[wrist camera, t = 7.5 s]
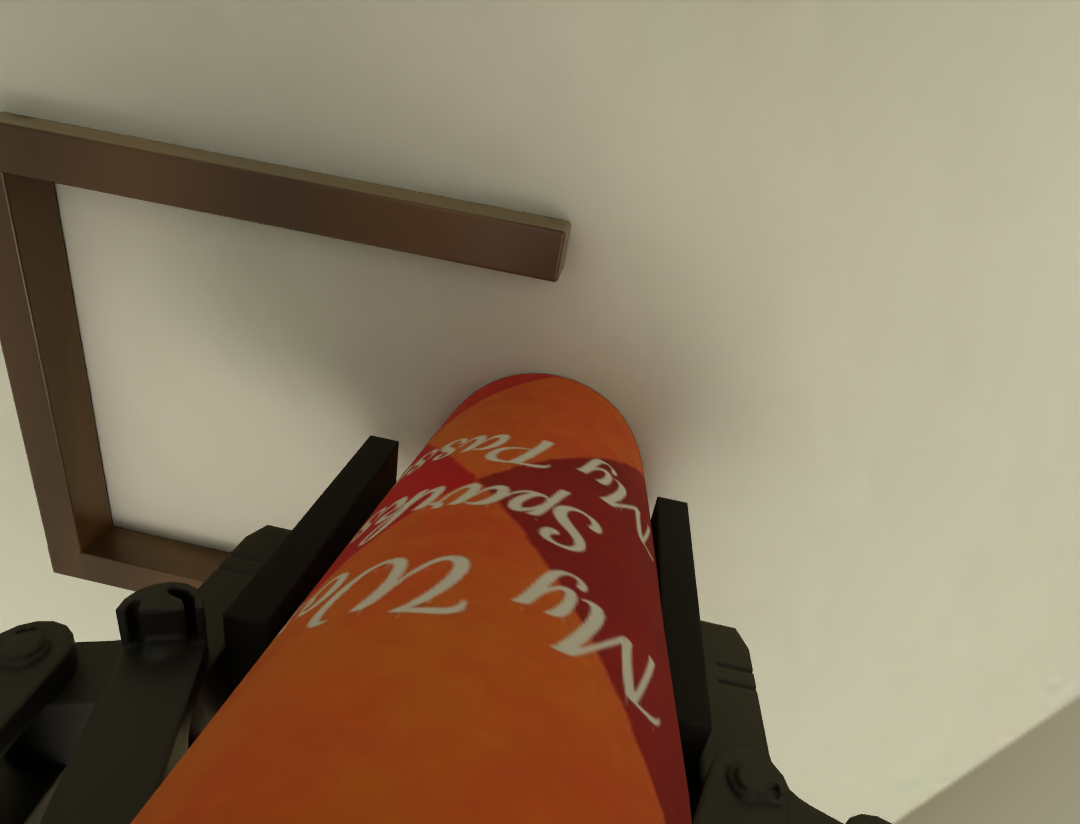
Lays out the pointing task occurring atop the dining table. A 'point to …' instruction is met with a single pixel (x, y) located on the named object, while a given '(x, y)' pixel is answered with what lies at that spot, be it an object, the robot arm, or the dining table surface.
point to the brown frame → (202, 185)
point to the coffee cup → (467, 646)
